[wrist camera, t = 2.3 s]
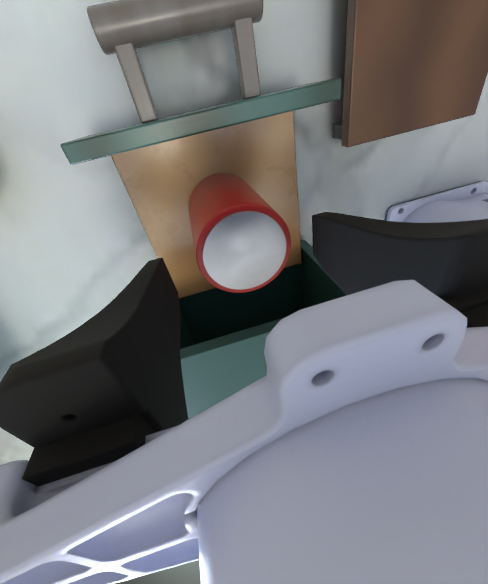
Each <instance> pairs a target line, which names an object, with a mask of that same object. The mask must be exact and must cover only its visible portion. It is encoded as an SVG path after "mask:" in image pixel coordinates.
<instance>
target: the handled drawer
mask: <svg viewBox="0 0 488 584" xmlns="http://www.w3.org/2000/svg"><path fill="white" fill-rule="evenodd" d="M87 13H88V17H89V20H90V23H91V25H92V28H93V30H94V33H95V35H96V38H97V40H98V42H99V44H100V46H101V48H102V50H103V52H104V53H105V54H107V55H109V54H113V53H116V54H117V57H118V60H119V62H120V65H121V68H122V71H123V73H124V76H125V79H126V82H127V84H128V87H129V90H130V93H131V95H132V98H133V101H134V104H135V106H136V109H137V112H138V115H139V117H140V120H141V122H142V123H140V124H136V125H132V126H127V127H123V128H119V129H115V130H111V131H106V132H102V133H98V134H94V135H89V136H86V137H83V138H79V139H76V140H73V141H69V142H66V143H63V144H61V148H62V150H63V151H64V153H65V155H66V157H67V159H68V161H69V162H70V164H77V163H81V162H85V161H89V160H94V159H98V158H102V157H106V156H110V155H111V156H112V158H113V161H114V163H115V165H116V167H117V170H118V172H119V174H120V176H121V178H122V181H123V183H124V185H125V187H126V189H127V192H128V194H129V196H130V198H131V200H132V203H133V205H134V207H135V209H136V211H137V214H138V216H139V218H140V220H141V222H142V225H143V227H144V229H145V231H146V233H147V236H148V238H149V240H150V242H151V244H152V247H153V249H154V251H155V253H156V256H157V258H162V257H163V260H164V262H165V264H166V267H167V269H168V271H169V273H170V276H171V278H172V280H173V282H174V285H175V287H176V289H177V291H178V296H179V298H182V297H186V296H189V295H193V294H196V293H200V292H203V291H207V290H210V289H214V288H217V287H215V286H214V285H212V284H211V283H209V282H208V281H207V280H206V279H205V277H204V276H203V275H202V273H201V272H200V270H199V267H198V265H197V261H196V255H195V249H194V242H193V236H192V230H191V223H190V217H189V210H188V208H189V199H190V196H191V194H192V191H193V190H194V188H195V187H196V185H197V184H198V183H199V182H200V181H201V180H203V179H204V178H206V177H208V176H210V175H212V174H216V173H230V174H234V175H236V176H238V177H240V178H242V179H243V180H244V181H245V182H246V183H247V184H248V185H249V186H250V187H251V188H252V189H253V190H254V191H256V192H257V193H258V194H259V195H260V196H261V197H262V198H263V199H264V200H265V201H266V202H267V203H268V204H269V205H270V206H271V207H272V208H273V209H274V210H275V211H276V212H277V213H278V214H279V215H280V216H281V217H282V218H283V220H284V221H285V223H286V224H287V227H288V229H289V232H290V237H291V250H290V255H289V258H288V260H287V263H286V265H285V266H284V268H286V267H290V266H293V265H297V264H300V263H302V262H301V244H300V225H299V207H298V189H297V170H296V152H295V133H294V115H293V111H294V110H298V109H302V108H307V107H311V106H315V105H319V104H323V103H327V102H331V101H335V100H339V99H340V98H341V78H336V79H331V80H325V81H320V82H315V83H310V84H305V85H300V86H296V87H292V88H288V89H283V90H279V91H275V92H271V93H266V94H262V95H260V85H259V77H258V68H257V59H256V51H255V42H254V33H253V24H252V23H256V22H259V21H260V20H261V18H262V14H263V0H118V1H113V2H108V3H103V4H98V5H93V6H88V7H87ZM229 28H232V35H233V41H234V48H235V54H236V61H237V68H238V74H239V81H240V87H241V94H242V99H241V100H237V101H233V102H229V103H224V104H220V105H216V106H212V107H207V108H203V109H199V110H195V111H191V112H186V113H182V114H178V115H174V116H170V117H165V118H161V119H158V116H157V113H156V110H155V107H154V104H153V101H152V98H151V95H150V92H149V88H148V85H147V82H146V79H145V76H144V73H143V70H142V67H141V64H140V61H139V58H138V55H137V52H136V48H141V47H146V46H150V45H155V44H159V43H164V42H169V41H173V40H178V39H183V38H187V37H192V36H196V35H201V34H206V33H210V32H215V31H219V30H224V29H229Z"/></svg>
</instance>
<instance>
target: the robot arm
mask: <svg viewBox="0 0 488 584" xmlns="http://www.w3.org/2000/svg"><path fill="white" fill-rule="evenodd" d="M487 189H488V182H485V181H481V182H478V183H474V184H470V185H467V186H463V187H460V188H456V189H453V190H449V191H445V192H442V193H438V194H435V195H431V196H428V197H424V198H420V199H417V200H413V201H410V202H406V203H402V204H399V205H395V206H393V207H391V208H390V209H389V210H388V213H387V219H386V221H384V220H376V219H369V218H363V217H357V216H351V215H345V214H339V213H331V212H324V213H320V214H317V215H313V216H312V232H313V254H314V256H315V258H316V259H317V261H318V262H319V264H320V265H321V267H322V268H323V269H324V270H325V271H326V272H327V274H328V275H329V276H330V277H331V278H332V279H333V280H334V281H335V282H336V283H337V284H338V285H339V286H340V288H341V289H342V290H343V291H344V292H345V293H346V294H347V296H344V297H340V298H337V299H334V300H330V301H327V302H324V303H321V304H317V305H314V306H311V307H307V308H304V309H301V310H299V311H297V312H295V313H293V314H291V315H289V316H287V317H285V318H283V319H281V320H280V321H279V322H278V324H277V325H276V326H275V327H274V328H273V329H272V331H271V332H270V333H269V334H268V335H267V336H266V342H265V348H264V355H265V360H266V365H267V374H266V376H264V377H262V378H261V379H259V380H257V381H255V382H254V383H252V384H250V385H248V386H247V387H245V388H243V389H241V390H240V391H238V392H236V393H234V394H233V395H231V396H229V397H227V398H226V399H224V400H222V401H220V402H218V403H217V404H215V405H213V406H211V407H210V408H208V409H206V410H204V411H203V412H201V413H199V414H197V415H196V416H194V417H192V418H190V419H188V413H187V406H186V399H185V392H184V384H183V377H182V368H181V358H180V303H179V296H178V291H177V289H176V287H175V285H174V282H173V280H172V278H171V276H170V273H169V271H168V269H167V267H166V264H165V262H164V260H163V257H162V258H158V259H155V260H151V261H149V262H147V263H146V265H145V266H144V267H143V268H142V269H141V270H140V271H139V273H138V274H137V275H136V276H135V277H134V279H133V280H132V281H131V282H130V283H129V284H128V285H127V286H126V287H125V289H124V290H123V291H122V292H121V293H120V294H119V295H118V296H117V297H116V298H115V299H114V300H113V301H112V302H111V303H110V304H108V305H107V306H106V307H105V308H104V309H102V310H101V311H100V312H99V313H98V314H96V315H95V316H94V317H92V318H91V319H89V320H88V321H87V322H85V323H84V324H83V325H81V326H80V327H78V328H77V329H75V330H74V331H72V332H71V333H69V334H67V335H66V336H64V337H63V338H61V339H59V340H58V341H56V342H54V343H52V344H51V345H49V346H47V347H45V348H43V349H41V350H39V351H37V352H36V353H34V354H32V355H30V356H28V357H26V358H24V359H22V360H20V361H18V362H16V363H14V364H12V365H11V366H10V368H9V369H8V371H7V373H6V374H5V376H4V377H3V379H2V381H1V382H0V427H1V428H2V429H4V430H5V431H7V432H9V433H10V434H12V435H14V436H16V437H17V438H19V439H21V440H22V441H24V442H26V443H27V444H29V445H31V446H32V447H35V448H34V450H33V453H32V455H31V457H30V460H29V461H27V460H17V461H12V462H9V463H6V464H3V465H0V584H115V583H118V582H122V581H126V580H129V579H133V578H136V577H140V576H143V575H147V574H150V573H154V572H157V571H161V570H164V569H168V568H171V567H175V566H179V565H182V564H186V563H189V562H192V561H196V560H200V576H201V584H488V194H486V191H487ZM399 210H400V211H399ZM398 211H399V212H398Z"/></svg>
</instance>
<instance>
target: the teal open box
mask: <svg viewBox="0 0 488 584" xmlns="http://www.w3.org/2000/svg"><path fill="white" fill-rule="evenodd" d="M300 244H301V262H302V263H300V264H297V265H293V266H290V267H286V268H283V270H282V271H281V272H280V273H279V275H278V276H277V277H276V278H275V279H274V280H272V281H271V282H270V283H268V284H267V285H265V286H263V287H261V288H259V289H256V290H254V291H250V292H243V293H234V292H228V291H224V290H221V289H219V288H214V289H210V290H207V291H203V292H200V293H196V294H193V295H189V296H186V297H182V298H179V303H180V358H181V368H182V377H183V384H184V392H185V399H186V406H187V413H188V419H190V418H192V417H194V416H196V415H197V414H199V413H201V412H203V411H204V410H206V409H208V408H210V407H211V406H213V405H215V404H217V403H218V402H220V401H222V400H224V399H226V398H227V397H229V396H231V395H233V394H234V393H236V392H238V391H240V390H241V389H243V388H245V387H247V386H248V385H250V384H252V383H254V382H255V381H257V380H259V379H261V378H262V377H264V376H266V374H267V365H266V360H265V355H264V348H265V342H266V336H267V335H268V334H269V333H270V332H271V331H272V329H273V328H274V327H275V326H276V325H277V324H278V322H279V321H280V320H281V319H283V318H285V317H287V316H289V315H291V314H293V313H295V312H297V311H299V310H301V309H304V308H307V307H311V306H314V305H317V304H321V303H324V302H327V301H330V300H334V299H337V298H340V297H344V296H347V294H346V293H345V292H344V291H343V290H342V289H341V288H340V286H339V285H338V284H337V283H336V282H335V281H334V280H333V279H332V278H331V277H330V276H329V275H328V274H327V272H326V271H325V270H324V269H323V268H322V267H321V265H320V264H319V262H318V261H317V259H316V258H315V256H314V254H313V247H312V246H311V245H310V244H308V243H307V242H306V241H301V242H300Z"/></svg>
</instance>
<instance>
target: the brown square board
mask: <svg viewBox="0 0 488 584" xmlns="http://www.w3.org/2000/svg"><path fill="white" fill-rule="evenodd" d="M487 73H488V0H348V11H347V33H346V56H345V79H344V102H343V122H340V123H337V124H333V138H339V139H342V146H345V147H351V146H354V145H358V144H362V143H366V142H370V141H374V140H378V139H382V138H385V137H389V136H393V135H397V134H401V133H405V132H409V131H412V130H416V129H420V128H424V127H428V126H432V125H436V124H440V123H443V122H447V121H451V120H455V119H459V118H463V117H467V116H470V115H474V114H475V112H476V109H477V105H478V102H479V99H480V96H481V92H482V89H483V86H484V82H485V79H486V76H487Z"/></svg>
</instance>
